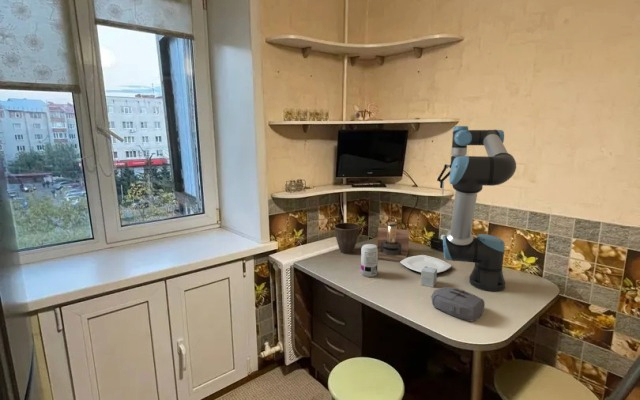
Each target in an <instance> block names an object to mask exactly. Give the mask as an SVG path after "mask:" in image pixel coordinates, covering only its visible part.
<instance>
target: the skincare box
mask: <svg viewBox="0 0 640 400" xmlns="http://www.w3.org/2000/svg"><path fill="white" fill-rule="evenodd" d="M437 276H438V273H437V269H436V268H431V267H426V266H425V267H424V268H423V269H422V270H421V273H420V285H421V286H425V287H430V288H434V287H435V285H436V284H437V280H438V279H437V278H438V277H437Z"/></svg>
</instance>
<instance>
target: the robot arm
mask: <svg viewBox="0 0 640 400" xmlns="http://www.w3.org/2000/svg"><path fill="white" fill-rule="evenodd" d="M451 140H452V141H451V143H452V144H451V151H450V152H451V156H450V164H446V163H445V164H444V165H443V169H442V170H441V172H440V174H439V176H438V177H437V179H436V180H437V182H439V185H440V186H439V187H440V189H441V195H444V191H445V190H444V187H445V182H444V181H446V179H447V178H448V177H449V179H448V182H449V185H451V187H452V189H453V190H454V191H455V193H454V200H453V208H452V215H451V216H452V217H451V223H450V229H449V230H448V231H447V232H446V234H445V235H443V236H442V246H443V247H442V250H443V258H444V259H445V260H446V261H452V262H464V263H465V262H466V263H474V267H473V268H472V271H471V273H470V275H469V280H468V281H469V284H470V285H471V286H473V287H475V288H477V289H479V290H481V291H485V292H486V291H488V292H500V291H503V290H504V289H505V286H506V281H505V277H504V274H503V265H504V255H505V241H504V240H503V239H502V238H500V237H498V236H495V235H492V234H491V235H490V234H488V233H487V234H486V233H479V234H477V236H476V237H474V235H473V234H472V228H473V221H474V215H475V209H476V205H477V197H478V194H479V193H480V192H482V191H483V186H485V187H486V186H491V187H492V186H499V185H502V184H504V183H506V182H507V181H509V180H510V179H511V178H513V176H514V175H515V172H516V169H517V161H516V160H515V158H514V156H513V155H512V154H510V153H509V152H508V151H507V149H506V146H505V145H504V140H505V132H504V130H502V129H469V126H467V125H456V126H453V129H452V139H451ZM468 146H484V150H485V153H486V154H487V155H486V156H485V155H484V156H475V155H473V156H471V155H470V156H469V155H467V152H468ZM448 168H449V169H450V170H449V171H448V172H447V173H446V174H445V175H444V173H445V172H446V170H447V169H448ZM443 175H444V176H443Z"/></svg>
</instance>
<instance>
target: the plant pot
mask: <svg viewBox="0 0 640 400" xmlns="http://www.w3.org/2000/svg"><path fill="white" fill-rule="evenodd" d="M333 227H334V233H335V237H336V238H335V239H336V244H337V246H338V249H339V251H340V253H342V254H352V253H353V252H354V249H355V247H356V243H357V241H358V238H359V232H360V225H359V224H356V223H352V222H339V223H336V224H334V225H333Z"/></svg>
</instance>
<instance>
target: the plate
mask: <svg viewBox="0 0 640 400" xmlns="http://www.w3.org/2000/svg"><path fill="white" fill-rule="evenodd" d="M399 263H400V264H401V265H403V266H404V267H406V268H407V269H409V270H412V271H414V272H418V273H420V274H421V270H422V269H423V268H424V267H425V266H426V267H431V268H436V269H437V274H440V273H442V272H445V271H448V270H449V269H450V268H451V267H452V265H451V263H448V262H446V261H444V260H442V259H440V258H437V257H434V256H429V255H425V254H420V255H419V254H418V255H413V256H407V258H406V259H404V260H402V261H400V262H399Z"/></svg>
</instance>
